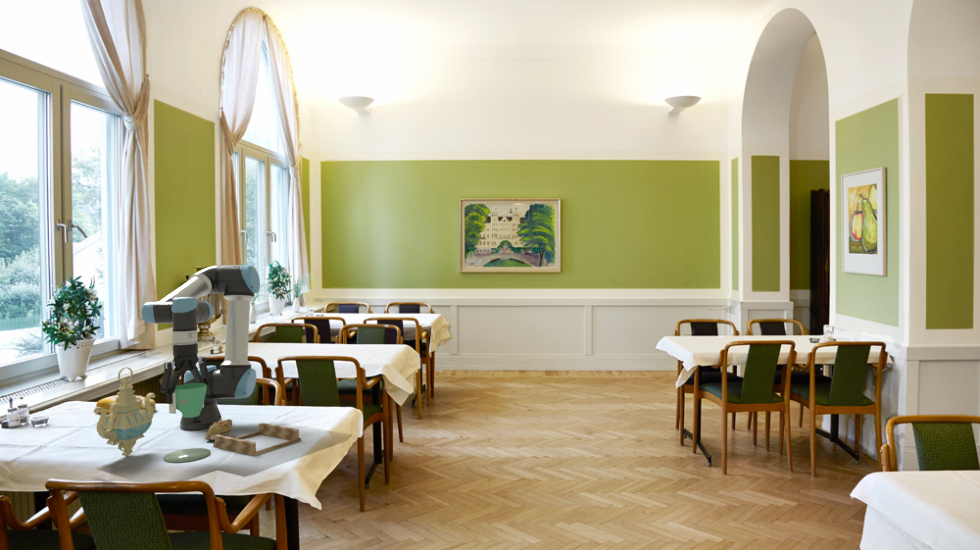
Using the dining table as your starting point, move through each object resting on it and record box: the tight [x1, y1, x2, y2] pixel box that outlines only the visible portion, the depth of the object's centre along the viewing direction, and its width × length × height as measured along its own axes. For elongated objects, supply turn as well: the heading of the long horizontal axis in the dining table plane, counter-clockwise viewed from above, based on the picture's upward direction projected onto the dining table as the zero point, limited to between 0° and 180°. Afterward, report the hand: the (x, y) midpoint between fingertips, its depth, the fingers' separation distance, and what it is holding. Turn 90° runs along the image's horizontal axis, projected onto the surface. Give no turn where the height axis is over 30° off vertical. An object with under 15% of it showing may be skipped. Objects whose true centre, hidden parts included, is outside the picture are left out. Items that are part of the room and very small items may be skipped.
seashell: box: [204, 418, 233, 441], centre depth 227 cm, size 9×8×10 cm
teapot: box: [93, 367, 156, 457], centre depth 206 cm, size 24×12×30 cm, turn 167°
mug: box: [173, 383, 207, 418], centre depth 205 cm, size 15×10×10 cm
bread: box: [95, 394, 157, 415], centre depth 267 cm, size 13×26×8 cm, turn 77°
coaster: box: [163, 447, 211, 464], centre depth 205 cm, size 14×14×1 cm
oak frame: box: [213, 422, 302, 457], centre depth 219 cm, size 22×20×4 cm
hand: (186, 410), depth 205 cm, fingers closed on mug, 9 cm apart
